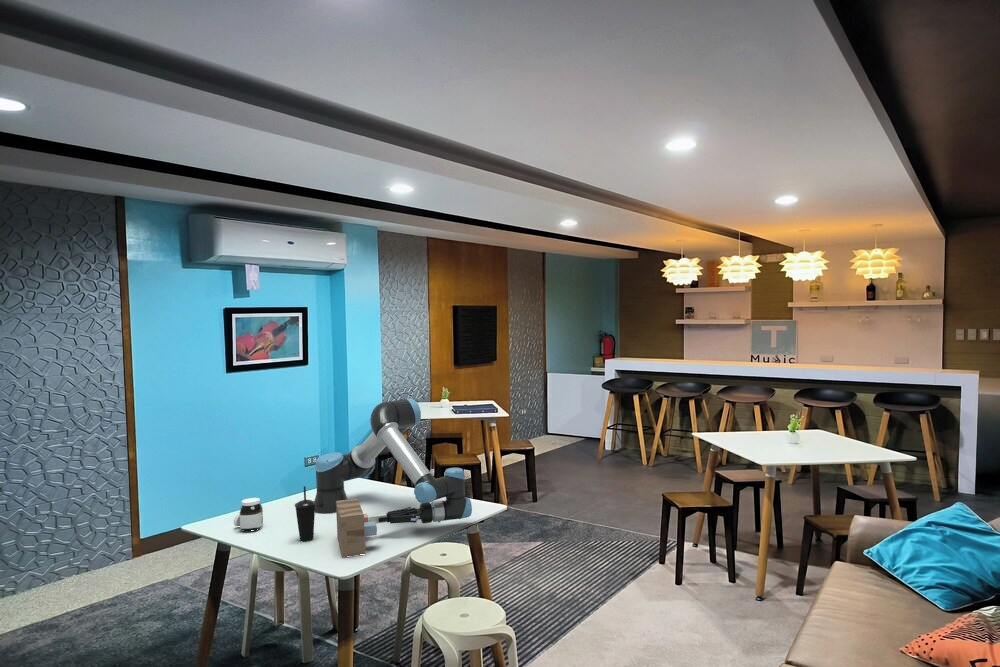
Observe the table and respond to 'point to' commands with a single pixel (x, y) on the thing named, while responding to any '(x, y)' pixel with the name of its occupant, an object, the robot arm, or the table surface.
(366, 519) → the terracotta key
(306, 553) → the table surface
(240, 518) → the spread jar
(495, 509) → the table surface
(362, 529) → the brown wooden block
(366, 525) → the slate key
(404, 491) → the table surface
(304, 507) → the drinking cup
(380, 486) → the table surface
